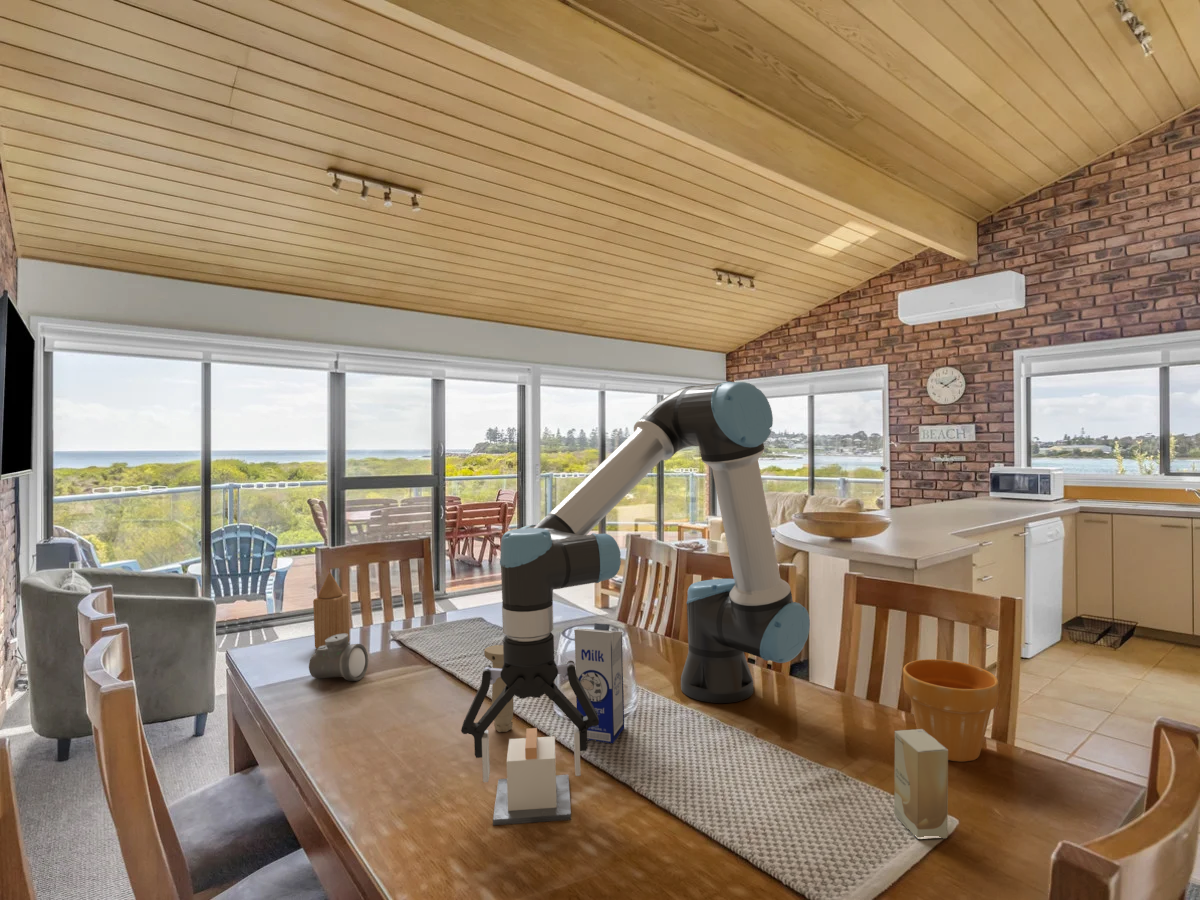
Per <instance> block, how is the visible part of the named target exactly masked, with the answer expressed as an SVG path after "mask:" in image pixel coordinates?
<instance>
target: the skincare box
mask: <svg viewBox="0 0 1200 900" xmlns="http://www.w3.org/2000/svg"><path fill="white" fill-rule="evenodd" d="M948 789H949V760H948V749H946V748H945V747H944V746H943V745H941V744H940V743H939V742H938V741H937V740H936V739H935V738H933V737H932V736H930V735H929V734H928V733H927V732H925V731H924V730H923V729H917V728H916V729H899V730H894V795H893V796H894V805H893V806H894V809H893V810H894V813H893V814H894V815H895V817H897V819H898V820H899V821H900V822H901V824H902V825H904V827H905V828H906V829H907V830H908V829H909V830H910V831H911V832H912V833H913V834H914V835H916V836H917V837H924V836H939V837H941V838H943V839H947V838H948V819H949V818H948V808H949V807H948V803H949V802H948V800H949V795H948V794H949V793H948V792H949V791H948ZM909 830H908V831H909ZM910 831H909V832H910ZM911 832H910V833H911ZM912 833H911V834H912ZM913 834H912V835H913ZM914 835H913V836H914Z"/></svg>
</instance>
